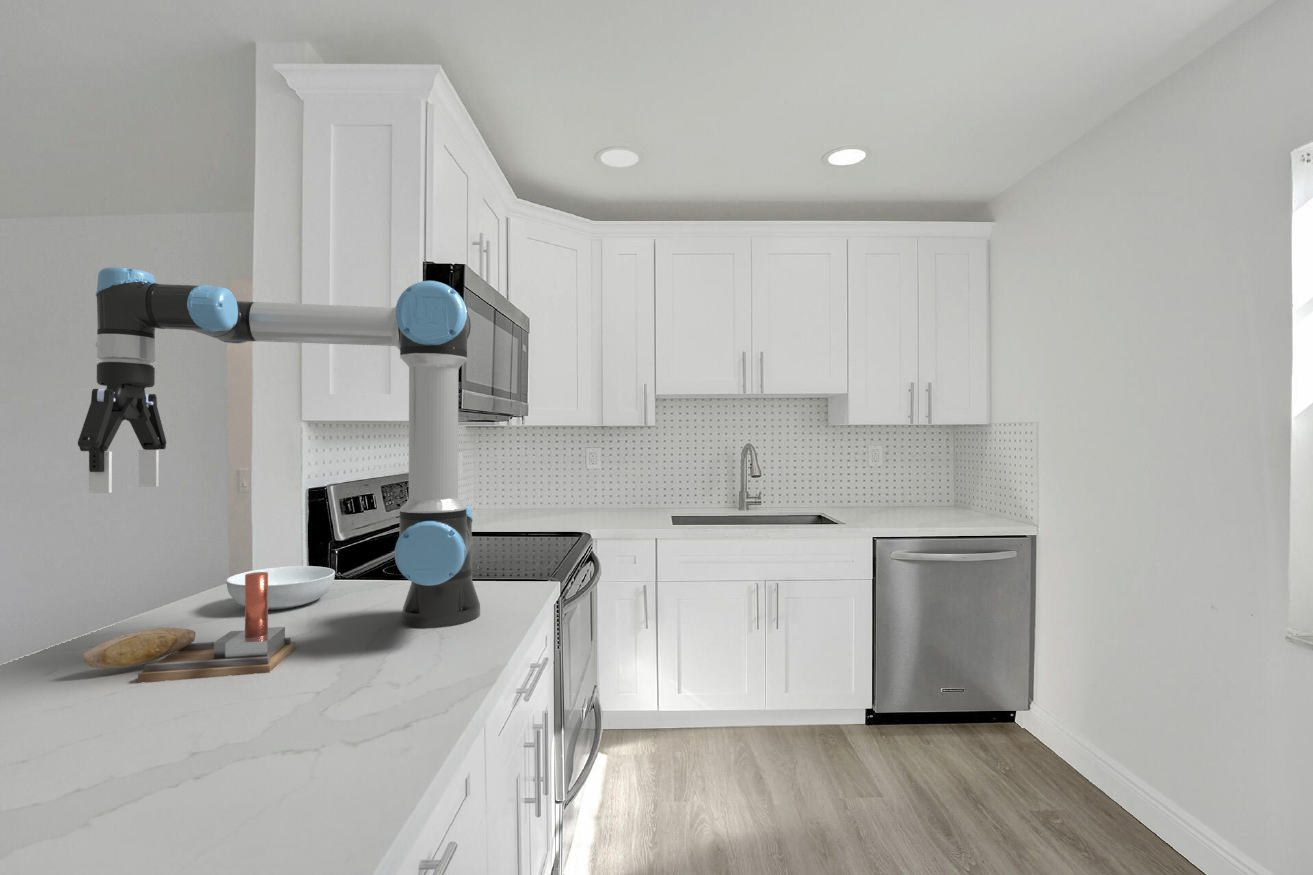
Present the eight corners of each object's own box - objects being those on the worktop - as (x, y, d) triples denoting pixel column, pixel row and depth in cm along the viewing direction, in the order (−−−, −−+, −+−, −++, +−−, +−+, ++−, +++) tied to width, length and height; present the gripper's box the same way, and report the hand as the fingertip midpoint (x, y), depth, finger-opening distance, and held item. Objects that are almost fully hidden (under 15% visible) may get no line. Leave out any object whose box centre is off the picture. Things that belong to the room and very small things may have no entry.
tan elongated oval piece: (192, 619, 107) (192, 618, 110) (78, 645, 98) (82, 643, 101) (197, 651, 106) (196, 649, 110) (83, 680, 98) (86, 677, 101)
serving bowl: (303, 618, 133) (303, 585, 133) (202, 618, 133) (202, 584, 133) (352, 594, 154) (352, 565, 154) (265, 593, 154) (265, 564, 154)
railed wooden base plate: (295, 650, 113) (295, 636, 113) (269, 675, 101) (269, 659, 101) (178, 657, 109) (178, 642, 109) (138, 683, 97) (138, 667, 97)
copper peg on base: (284, 644, 111) (285, 568, 111) (267, 659, 103) (267, 578, 103) (233, 647, 109) (233, 570, 109) (211, 663, 101) (211, 580, 101)
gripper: (142, 369, 119) (142, 484, 120) (46, 352, 95) (46, 496, 95) (188, 370, 121) (188, 483, 121) (105, 354, 97) (105, 495, 97)
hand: (126, 489), depth 108 cm, fingers open, 13 cm apart
